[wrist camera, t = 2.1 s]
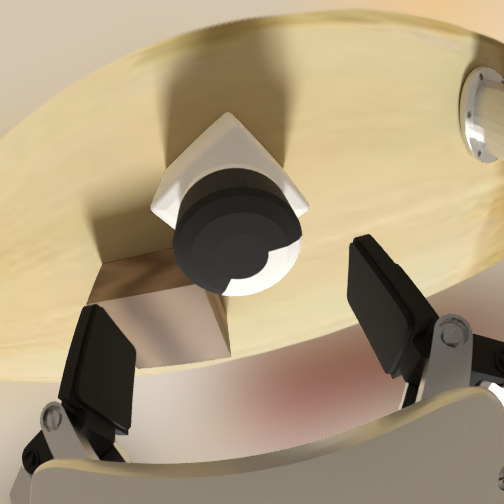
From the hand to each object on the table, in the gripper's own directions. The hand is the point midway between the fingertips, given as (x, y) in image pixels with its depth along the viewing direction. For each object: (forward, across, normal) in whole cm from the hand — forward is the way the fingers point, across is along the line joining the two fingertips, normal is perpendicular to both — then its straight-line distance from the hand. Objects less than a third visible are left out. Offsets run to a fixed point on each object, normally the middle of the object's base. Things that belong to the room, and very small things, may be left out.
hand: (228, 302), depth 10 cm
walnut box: (+15, +8, +12) cm, 21 cm away
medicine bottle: (+15, -1, 0) cm, 15 cm away
